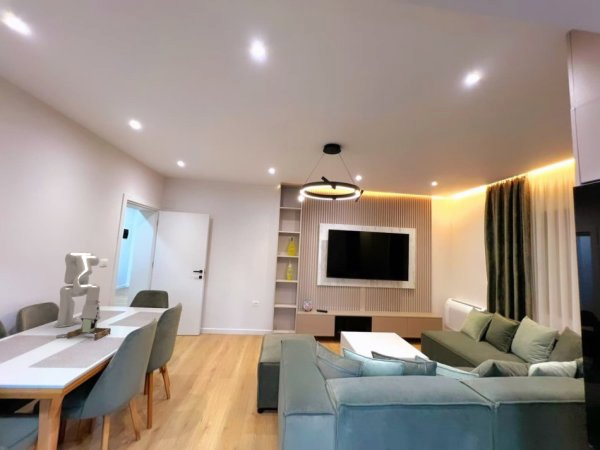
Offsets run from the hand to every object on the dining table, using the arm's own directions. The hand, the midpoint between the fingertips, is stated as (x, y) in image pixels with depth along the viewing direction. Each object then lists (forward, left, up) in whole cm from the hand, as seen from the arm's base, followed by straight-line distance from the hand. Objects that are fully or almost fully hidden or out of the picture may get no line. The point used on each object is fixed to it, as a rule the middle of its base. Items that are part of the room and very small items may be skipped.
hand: (88, 327), depth 200 cm
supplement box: (-17, -12, -7) cm, 22 cm away
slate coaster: (+2, -16, -6) cm, 17 cm away
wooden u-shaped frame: (-1, 0, -6) cm, 6 cm away
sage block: (0, 0, -3) cm, 3 cm away
